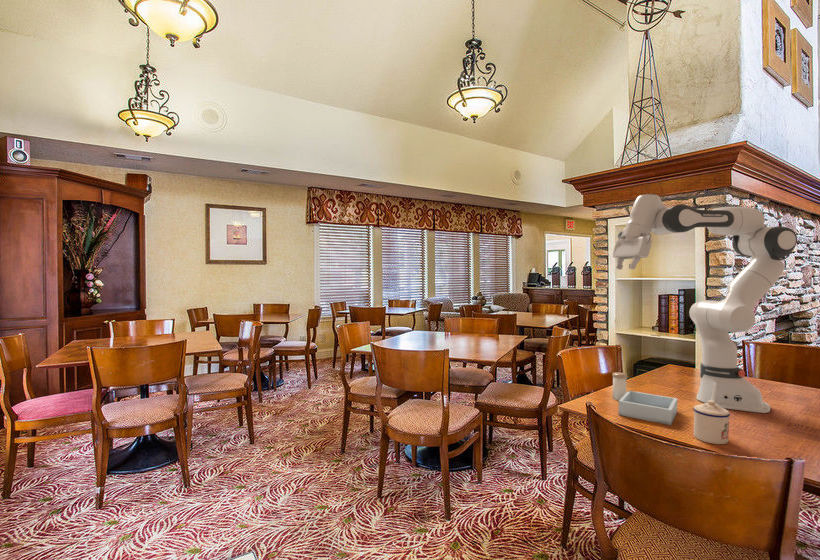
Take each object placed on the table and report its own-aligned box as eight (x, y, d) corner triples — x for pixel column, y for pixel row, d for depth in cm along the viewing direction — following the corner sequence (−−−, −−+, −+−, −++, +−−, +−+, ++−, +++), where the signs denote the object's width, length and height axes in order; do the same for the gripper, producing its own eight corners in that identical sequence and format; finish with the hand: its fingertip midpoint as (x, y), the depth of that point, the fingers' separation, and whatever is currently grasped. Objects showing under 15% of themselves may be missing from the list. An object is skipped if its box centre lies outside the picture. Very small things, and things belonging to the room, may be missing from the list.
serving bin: (677, 412, 153) (677, 398, 153) (670, 425, 140) (671, 410, 140) (628, 403, 163) (628, 390, 163) (618, 414, 150) (618, 400, 150)
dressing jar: (628, 398, 169) (628, 373, 169) (625, 401, 165) (625, 376, 164) (613, 396, 172) (614, 371, 172) (610, 399, 168) (611, 374, 168)
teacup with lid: (729, 447, 123) (730, 408, 122) (692, 440, 128) (692, 402, 128) (728, 434, 133) (729, 397, 132) (693, 428, 138) (694, 392, 138)
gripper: (660, 234, 152) (648, 271, 152) (630, 239, 172) (619, 271, 172) (643, 229, 152) (631, 266, 152) (615, 234, 172) (604, 266, 172)
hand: (624, 269), depth 162 cm, fingers open, 8 cm apart
